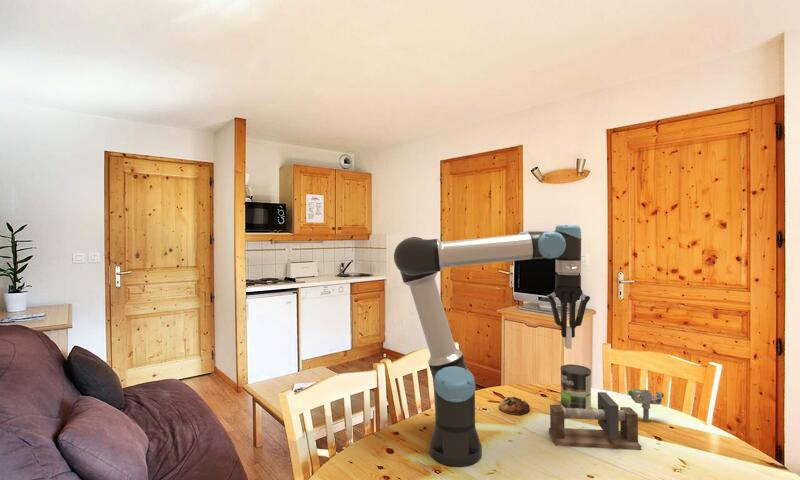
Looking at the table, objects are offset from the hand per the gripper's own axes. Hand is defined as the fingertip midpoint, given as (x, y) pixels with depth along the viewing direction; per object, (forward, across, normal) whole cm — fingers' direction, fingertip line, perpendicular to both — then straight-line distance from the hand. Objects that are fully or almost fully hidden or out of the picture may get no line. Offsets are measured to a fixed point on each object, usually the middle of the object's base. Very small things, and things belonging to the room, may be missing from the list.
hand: (567, 347), depth 131 cm
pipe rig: (+27, +6, -4) cm, 28 cm away
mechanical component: (+27, +28, +11) cm, 41 cm away
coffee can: (+27, +8, +20) cm, 35 cm away
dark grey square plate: (+24, +11, -4) cm, 27 cm away
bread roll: (+28, -14, +16) cm, 35 cm away
